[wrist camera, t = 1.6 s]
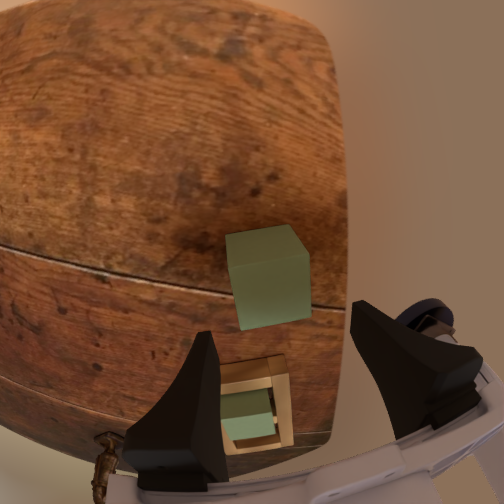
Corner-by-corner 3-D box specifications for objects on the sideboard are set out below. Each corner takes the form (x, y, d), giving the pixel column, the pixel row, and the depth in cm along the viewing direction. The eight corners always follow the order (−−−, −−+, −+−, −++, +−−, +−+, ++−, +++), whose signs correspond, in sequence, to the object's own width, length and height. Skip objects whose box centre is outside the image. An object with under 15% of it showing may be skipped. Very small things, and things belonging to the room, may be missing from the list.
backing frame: (283, 353, 26) (288, 373, 24) (290, 430, 33) (293, 444, 30) (192, 368, 25) (191, 388, 23) (225, 440, 32) (226, 455, 30)
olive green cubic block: (289, 223, 20) (309, 253, 16) (293, 278, 22) (311, 317, 18) (224, 234, 20) (227, 267, 16) (235, 289, 22) (240, 331, 18)
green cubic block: (263, 371, 27) (272, 412, 22) (268, 397, 29) (275, 434, 24) (218, 379, 26) (220, 419, 22) (227, 403, 28) (230, 440, 24)
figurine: (115, 428, 30) (102, 522, 16) (137, 439, 31) (129, 531, 18) (92, 437, 31) (77, 518, 17) (112, 448, 32) (101, 527, 19)
